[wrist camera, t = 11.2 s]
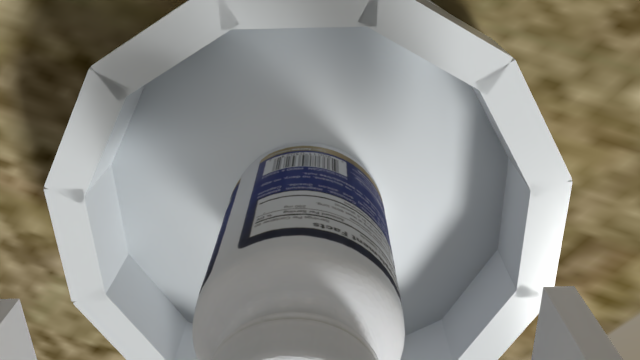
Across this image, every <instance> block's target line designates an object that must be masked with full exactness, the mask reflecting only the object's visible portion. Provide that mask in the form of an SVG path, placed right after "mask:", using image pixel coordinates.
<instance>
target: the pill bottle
mask: <svg viewBox="0 0 640 360" xmlns="http://www.w3.org/2000/svg"><path fill="white" fill-rule="evenodd" d="M192 336H193V345H194V349H195V353H196V356H197V359H198V360H400V359H401V356H402V352H403V348H404V340H405V326H404V316H403V310H402V304H401V298H400V292H399V287H398V282H397V277H396V272H395V266H394V260H393V255H392V249H391V244H390V239H389V233H388V227H387V222H386V216H385V210H384V205H383V201H382V197H381V194H380V191H379V188H378V186H377V184H376V182H375V180H374V179H373V177H372V176H371V174H370V173H369V172H368V171H367V169H366V168H365V167H364V166H363V165H362V164H361V163H360V162H359V161H358V160H356V159H355V158H354V157H352V156H351V155H349V154H347V153H346V152H344V151H342V150H340V149H337V148H335V147H332V146H328V145H325V144H320V143H311V142H300V143H292V144H287V145H283V146H280V147H277V148H275V149H272V150H270V151H268V152H266V153H265V154H263V155H261V156H260V157H258V158H257V159H256V160H255V161H254V162H252V163H251V164H250V165H249V166H248V167H247V169H246V170H245V171H244V172H243V174H242V175H241V177H240V178H239V180H238V182H237V184H236V186H235V188H234V190H233V192H232V195H231V198H230V201H229V204H228V207H227V210H226V213H225V216H224V219H223V222H222V226H221V229H220V232H219V235H218V238H217V241H216V244H215V248H214V251H213V254H212V257H211V260H210V263H209V266H208V269H207V272H206V275H205V278H204V281H203V284H202V286H201V290H200V293H199V296H198V300H197V304H196V307H195V313H194V318H193V326H192Z"/></svg>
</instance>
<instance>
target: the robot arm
mask: <svg viewBox="0 0 640 360" xmlns="http://www.w3.org/2000/svg"><path fill="white" fill-rule="evenodd" d="M0 360H37V358H36V355H35V351H34V348H33V344H32V341H31V337H30V334H29V331H28V327H27V324H26V320H25V317H24V313H23V310H22V306H21V303H20V300H19V299H0ZM532 360H623V359H622V357H621V356H620V354H619V353H618V351H617V350H616V348H615V347H614V345H613V344H612V342H611V341H610V339H609V338H608V336H607V335H606V333H605V332H604V330H603V329H602V327H601V326H600V324H599V323H598V321H597V320H596V318H595V317H594V315H593V314H592V312H591V311H590V309H589V308H588V306H587V305H586V303H585V302H584V300H583V299H582V297H581V296H580V294H579V293H578V291H577V290H576V288H575V287H574V286H564V287H543V292H542V298H541V304H540V310H539V316H538V323H537V329H536V335H535V341H534V347H533V354H532Z"/></svg>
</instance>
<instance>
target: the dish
mask: <svg viewBox="0 0 640 360" xmlns="http://www.w3.org/2000/svg"><path fill="white" fill-rule="evenodd" d="M300 142H311V143H320V144H325V145H328V146H332V147H335V148H337V149H340V150H342V151H344V152H346V153H347V154H349V155H351V156H352V157H354V158H355V159H356V160H358V161H359V162H360V163H361V164H362V165H363V166H364V167H365V168H366V169H367V171H368V172H369V173H370V174H371V176H372V177H373V179H374V180H375V182H376V184H377V186H378V188H379V191H380V194H381V197H382V201H383V205H384V210H385V216H386V222H387V227H388V233H389V239H390V244H391V249H392V255H393V260H394V266H395V272H396V277H397V282H398V287H399V292H400V298H401V304H402V310H403V316H404V326H405V340H404V348H403V352H402V356H401V359H400V360H498V359H499V358H500V357H501V356H502V354H503V353H504V352H505V351H506V350H507V349H508V348H509V346H510V345H511V344H512V343H513V342H514V341H515V340H516V338H517V337H518V336H519V335H520V334H521V333H522V332H523V331H524V329H525V328H526V327H527V326H528V325H529V324H530V323H531V321H532V320H533V319H534V318H535V317H536V316H537V315H538V314H539V310H540V304H541V298H542V292H543V287H554V285H555V279H556V273H557V268H558V262H559V256H560V250H561V245H562V239H563V233H564V227H565V222H566V216H567V210H568V204H569V199H570V193H571V187H572V181H571V180H572V178H571V176H570V174H569V172H568V169H567V167H566V165H565V163H564V161H563V159H562V157H561V155H560V153H559V151H558V148H557V146H556V144H555V142H554V140H553V138H552V136H551V134H550V132H549V130H548V127H547V125H546V123H545V121H544V119H543V117H542V115H541V113H540V111H539V109H538V106H537V104H536V102H535V100H534V98H533V96H532V94H531V92H530V90H529V88H528V85H527V83H526V81H525V79H524V77H523V75H522V73H521V71H520V69H519V67H518V64H517V62H516V60H515V59H514V58H513V57H512V56H511V55H510V54H509V53H507V52H506V51H505V50H504V49H503V48H502V47H501V46H499V45H498V44H497V43H496V42H495V41H494V40H493V39H491V38H490V37H488V36H487V35H485V34H483V33H481V32H480V31H478V30H476V29H475V28H473V27H471V26H470V25H468V24H466V23H464V22H463V21H461V20H459V19H458V18H456V17H454V16H453V15H451V14H449V13H448V12H447V11H445V10H444V9H442V8H441V7H439V6H438V5H436V4H435V3H433V2H432V1H431V0H188V1H186V2H185V3H183V4H181V5H180V6H178V7H177V8H176V9H174V10H173V11H171V12H170V13H168V14H167V15H165V16H164V17H162V18H161V19H159V20H158V21H156V22H155V23H153V24H152V25H150V26H149V27H147V28H146V29H144V30H143V31H141V32H140V33H138V34H137V35H135V36H134V37H132V38H131V39H129V40H128V41H126V42H125V43H123V44H122V45H120V46H119V47H118V48H116V49H115V50H113V51H112V52H110V53H109V54H107V55H106V56H105V57H103V58H102V59H100V60H99V61H97V62H96V63H95V64H93V65H92V66H91V67H90V68H89V70H88V72H87V75H86V77H85V80H84V83H83V85H82V88H81V91H80V93H79V96H78V98H77V101H76V104H75V106H74V109H73V111H72V114H71V117H70V119H69V122H68V125H67V127H66V130H65V132H64V135H63V138H62V140H61V143H60V146H59V148H58V151H57V153H56V156H55V159H54V161H53V164H52V167H51V169H50V172H49V174H48V177H47V180H46V182H45V185H44V187H45V188H44V193H45V197H46V201H47V205H48V209H49V213H50V217H51V221H52V225H53V229H54V233H55V237H56V241H57V245H58V249H59V253H60V257H61V261H62V265H63V269H64V273H65V277H66V281H67V285H68V289H69V293H70V297H71V301H74V302H73V304H74V305H75V306H76V307H77V308H78V309H79V310H80V311H81V313H82V314H83V315H84V316H85V317H86V318H87V319H88V320H89V321H90V322H91V323H92V324H93V325H94V326H95V327H96V328H97V329H98V330H99V331H100V332H101V333H102V334H103V336H104V337H105V338H106V339H107V340H108V341H109V342H110V343H111V344H112V345H113V346H114V347H115V348H116V349H117V350H118V351H119V352H120V353H121V354H122V355H123V356H124V357H125V359H126V360H198V359H197V356H196V353H195V349H194V345H193V336H192V326H193V318H194V313H195V307H196V304H197V300H198V296H199V293H200V290H201V286H202V284H203V281H204V278H205V275H206V272H207V269H208V266H209V263H210V260H211V257H212V254H213V251H214V248H215V244H216V241H217V238H218V235H219V232H220V229H221V226H222V222H223V219H224V216H225V213H226V210H227V207H228V204H229V201H230V198H231V195H232V192H233V190H234V188H235V186H236V184H237V182H238V180H239V178H240V177H241V175H242V174H243V172H244V171H245V170H246V169H247V167H248V166H249V165H250V164H251V163H252V162H254V161H255V160H256V159H257V158H258V157H260V156H261V155H263V154H265V153H266V152H268V151H270V150H272V149H275V148H277V147H280V146H283V145H287V144H292V143H300Z"/></svg>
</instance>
